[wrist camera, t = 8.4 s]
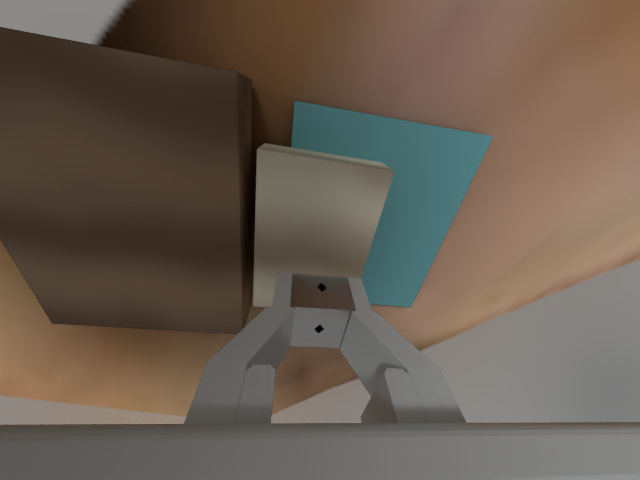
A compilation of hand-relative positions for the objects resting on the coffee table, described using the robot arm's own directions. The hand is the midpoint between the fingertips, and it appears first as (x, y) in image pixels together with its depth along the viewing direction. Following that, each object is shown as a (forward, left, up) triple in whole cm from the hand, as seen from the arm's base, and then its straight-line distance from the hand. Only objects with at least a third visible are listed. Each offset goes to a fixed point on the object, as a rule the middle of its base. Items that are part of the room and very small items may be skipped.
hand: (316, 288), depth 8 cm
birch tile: (+1, 0, -6) cm, 6 cm away
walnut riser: (+1, -9, -6) cm, 11 cm away
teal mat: (0, +3, -6) cm, 7 cm away
